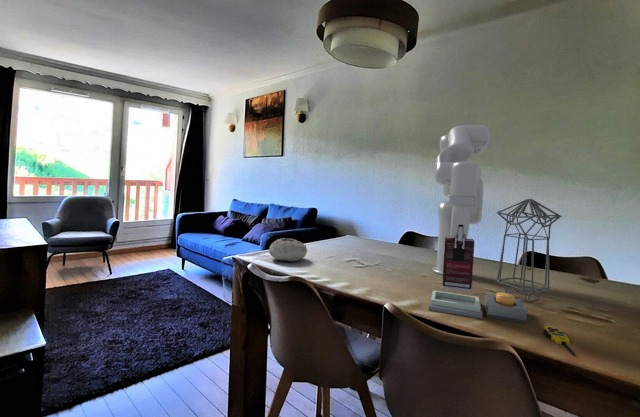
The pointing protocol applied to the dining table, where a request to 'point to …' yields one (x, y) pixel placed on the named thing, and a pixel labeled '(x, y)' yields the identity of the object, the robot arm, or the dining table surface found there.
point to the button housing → (505, 310)
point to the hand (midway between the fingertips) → (458, 258)
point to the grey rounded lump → (287, 250)
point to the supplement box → (458, 266)
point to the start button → (505, 298)
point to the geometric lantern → (537, 209)
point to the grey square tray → (455, 304)
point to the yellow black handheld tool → (558, 336)
